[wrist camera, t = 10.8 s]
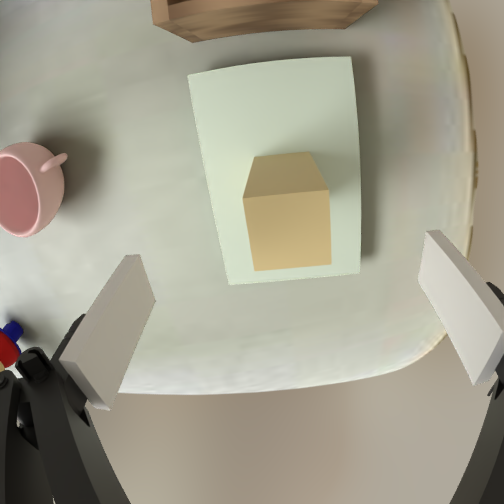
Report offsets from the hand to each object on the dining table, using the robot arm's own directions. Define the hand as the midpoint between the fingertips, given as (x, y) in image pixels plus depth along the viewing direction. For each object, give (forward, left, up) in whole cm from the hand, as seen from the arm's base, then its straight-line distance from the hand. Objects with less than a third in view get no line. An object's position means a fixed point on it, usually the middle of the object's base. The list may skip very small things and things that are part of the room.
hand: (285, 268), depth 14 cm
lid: (0, 0, -16) cm, 16 cm away
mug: (-25, +4, -16) cm, 30 cm away
